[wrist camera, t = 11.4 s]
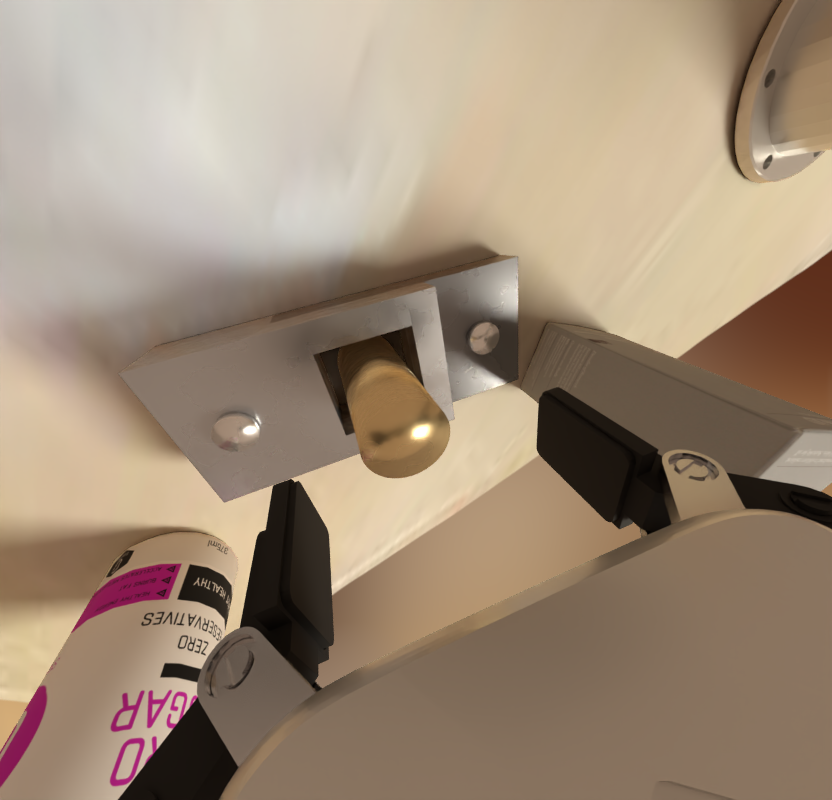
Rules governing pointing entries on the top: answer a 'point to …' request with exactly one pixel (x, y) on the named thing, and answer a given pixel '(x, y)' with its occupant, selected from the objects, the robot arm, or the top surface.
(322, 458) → the grey plate with window
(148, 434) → the top surface
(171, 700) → the supplement can
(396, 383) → the brass pin
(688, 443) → the skincare box
